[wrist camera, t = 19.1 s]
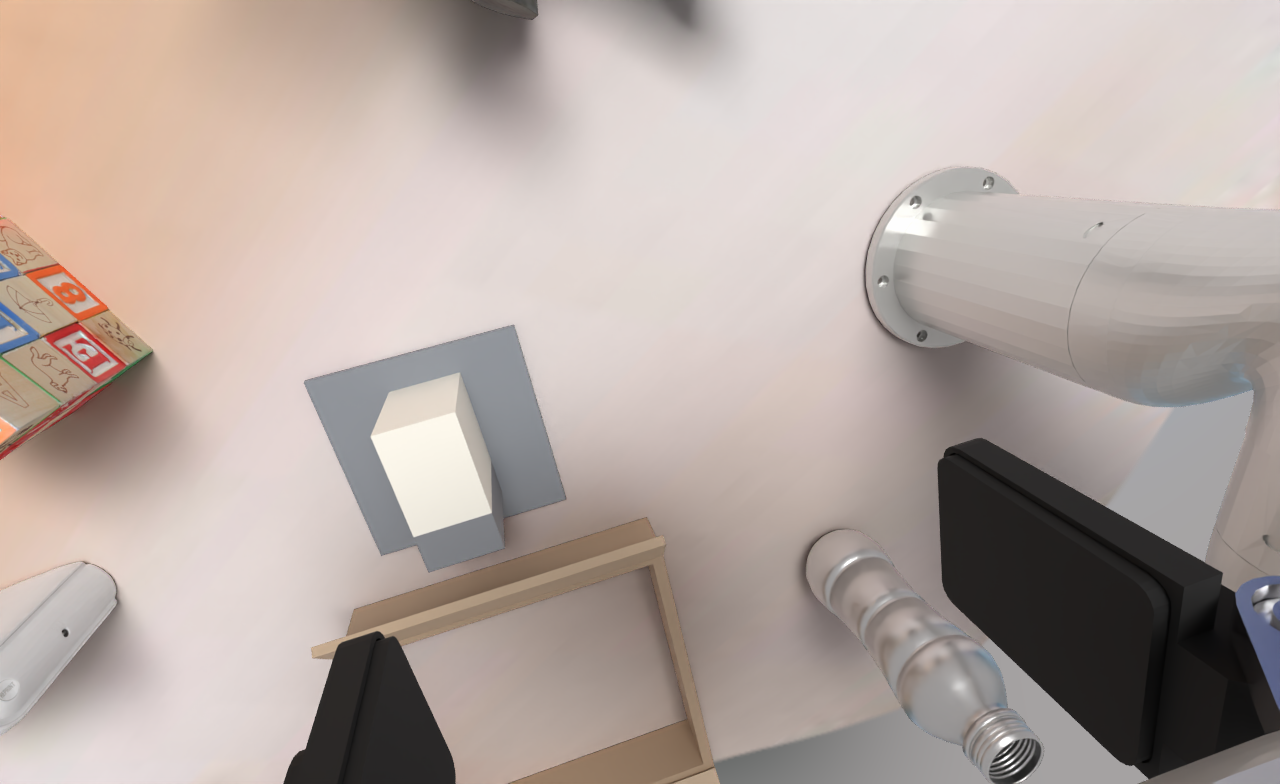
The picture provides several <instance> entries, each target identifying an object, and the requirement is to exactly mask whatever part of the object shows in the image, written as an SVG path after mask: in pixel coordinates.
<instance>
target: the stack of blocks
mask: <svg viewBox="0 0 1280 784" xmlns="http://www.w3.org/2000/svg"><path fill="white" fill-rule="evenodd" d="M152 351H153V350H152V348H151V347H149V346H148V345H147V344H146V343H145V342H144V341H143V340H142V339H141V338H139V337H138V336H137V335H136V334H135V333H134V332H133V331H132V330H130V329H129V328H128V327H127V326H126V325H125V324H124V323H123V322H122V321H121V320H119V319H118V318H117V317H116V316H115V315H114V314H113V313H112V312H111V311H109V309H108V307H107V306H106V305H105V304H104V303H103V302H101V301H100V300H99V299H98V298H97V297H96V296H95V295H94V294H93V293H91V292H90V291H89V290H88V289H87V288H86V287H85V286H84V285H82V284H81V283H80V282H79V281H78V280H77V279H76V278H75V277H73V276H72V275H71V274H70V273H69V272H68V271H67V270H66V269H65V268H64V267H62V266H61V265H59V264H58V263H57V261H56V260H55V259H53V258H52V257H51V256H50V255H49V254H48V253H47V252H46V251H45V250H44V249H43V248H42V247H40V246H39V245H38V244H37V243H36V242H35V241H34V240H32V239H31V238H30V237H29V236H28V235H27V234H26V233H25V232H23V231H22V230H21V229H20V228H19V227H18V226H17V225H16V224H15V223H13V222H12V221H11V220H9V219H8V218H5V217H3V216H2V215H0V460H1V459H3V458H4V457H5V456H7V455H8V454H9V453H10V452H12V451H13V450H15V449H16V448H18V447H19V446H21V445H23V444H24V443H26V442H27V441H29V440H30V439H32V438H33V437H35V436H36V435H38V434H39V433H41V432H42V431H44V430H46V429H48V428H49V427H51V426H53V425H54V424H56V423H57V422H59V421H60V420H62V419H63V418H65V417H67V416H68V415H70V414H71V413H73V412H74V411H75V410H77V409H78V408H79V407H81V406H82V405H83V404H85V403H86V402H87V401H89V400H90V399H91V398H93V397H94V396H95V395H97V394H98V393H99V392H100V391H102V390H103V389H104V388H106V387H107V386H108V385H110V384H111V383H112V381H113V380H115V379H116V378H117V377H119V376H120V375H121V374H123V373H124V372H125V371H127V370H128V369H130V368H131V367H132V366H134V365H135V364H136V363H138V362H139V361H140V360H142V359H143V358H144V357H145V356H147V355H148V354H150V353H151V352H152Z"/></svg>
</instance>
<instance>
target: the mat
mask: <svg viewBox="0 0 1280 784" xmlns="http://www.w3.org/2000/svg"><path fill="white" fill-rule="evenodd" d="M459 372H460V373H461V376H462V379H463V382H464V385H465V388H466V390H467V393H468V396H469V399H470V402H471V405H472V408H473V410H474V413H475V416H476V419H477V422H478V425H479V427H480V430H481V433H482V436H483V439H484V442H485V444H486V447H487V450H488V453H489V456H490V459H491V462H492V464H493V467H494V470H495V473H496V476H497V479H498V481H499V484H500V487H501V490H502V499H503V518H506V517H510V516H513V515H516V514H519V513H523V512H526V511H529V510H532V509H536V508H539V507H542V506H546V505H549V504H552V503H555V502H559V501H562V500H565V499H566V497H565V493H564V490H563V487H562V483H561V480H560V477H559V473H558V470H557V467H556V463H555V460H554V457H553V453H552V450H551V447H550V444H549V440H548V437H547V434H546V430H545V427H544V424H543V420H542V417H541V414H540V410H539V407H538V404H537V400H536V397H535V394H534V390H533V387H532V384H531V380H530V377H529V374H528V370H527V367H526V364H525V361H524V357H523V354H522V351H521V347H520V344H519V341H518V337H517V334H516V331H515V327H514V325H511V326H507V327H503V328H499V329H496V330H492V331H488V332H484V333H481V334H477V335H473V336H469V337H466V338H462V339H458V340H454V341H451V342H447V343H443V344H439V345H436V346H432V347H428V348H425V349H421V350H417V351H413V352H410V353H406V354H402V355H398V356H395V357H391V358H387V359H383V360H380V361H376V362H372V363H368V364H365V365H361V366H357V367H353V368H350V369H346V370H342V371H338V372H335V373H331V374H327V375H323V376H320V377H316V378H312V379H308V380H305V381H304V384H305V387H306V389H307V391H308V393H309V395H310V398H311V400H312V402H313V404H314V407H315V409H316V411H317V413H318V416H319V418H320V420H321V422H322V424H323V427H324V429H325V431H326V433H327V436H328V438H329V440H330V442H331V445H332V447H333V449H334V451H335V453H336V456H337V458H338V460H339V462H340V465H341V467H342V469H343V471H344V474H345V476H346V478H347V480H348V482H349V485H350V487H351V489H352V491H353V494H354V496H355V498H356V500H357V503H358V505H359V507H360V509H361V511H362V514H363V516H364V518H365V520H366V523H367V525H368V527H369V529H370V532H371V534H372V536H373V538H374V540H375V543H376V545H377V547H378V549H379V552H380V554H381V556H382V555H385V554H389V553H392V552H395V551H399V550H402V549H405V548H408V547H412V546H415V545H417V544H416V542H415V539H414V537H413V535H412V532H411V530H410V528H409V525H408V523H407V521H406V518H405V516H404V514H403V511H402V509H401V507H400V504H399V502H398V500H397V497H396V495H395V493H394V490H393V488H392V486H391V483H390V481H389V479H388V476H387V474H386V472H385V469H384V467H383V465H382V462H381V460H380V458H379V455H378V453H377V451H376V448H375V446H374V444H373V441H372V439H371V437H370V436H371V434H372V432H373V429H374V427H375V424H376V422H377V420H378V417H379V415H380V413H381V410H382V408H383V405H384V403H385V401H386V398H387V396H388V393H389V392H391V391H395V390H398V389H402V388H406V387H409V386H413V385H416V384H420V383H423V382H427V381H431V380H434V379H438V378H441V377H445V376H448V375H452V374H456V373H459Z"/></svg>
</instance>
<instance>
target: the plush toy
mask: <svg viewBox="0 0 1280 784" xmlns="http://www.w3.org/2000/svg"><path fill="white" fill-rule="evenodd" d="M471 1H473V2H475V3H477V4H479V5H481V6H483V7H485V8H488V9H491V10H493V11H496V12H499V13H502V14H506V15H510V16H515V17H520V18H525V19H530V20H533V19H534V18H535V17H536V16H538V8H537V0H471Z"/></svg>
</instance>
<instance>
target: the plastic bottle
mask: <svg viewBox="0 0 1280 784" xmlns="http://www.w3.org/2000/svg"><path fill="white" fill-rule="evenodd" d="M806 577H807V580H808V583H809V585H810V587H811V589H812V591H813V593H814V595H815V597H816V598H817V599H818V600H819V601H820V602H821V603H822V604H823V605H824V606H825V607H826V608H827V609H828V610H829V611H830V612H831V613H833V614H834V615H835V616H837V617H838V618H839V619H840V620H841V621H842V622H843V623H844V624H845V625H846V626H847V627H848V628H849V629H850V630H851V631H852V632H853V633H854V634H855V636H856V637H857V638H858V639H859V640H860V641H861V642H862V644H863V645H864V647H865V648H866V650H867V651H868V652H869V654H870V655H871V657H872V658H873V660H874V661H875V663H876V664H877V665H878V667H879V668H880V670H881V671H882V673H883V675H884V676H885V678H886V680H887V682H888V684H889V685H890V687H891V689H892V691H893V692H894V694H895V696H896V698H897V699H898V701H899V703H900V705H901V707H902V708H903V710H904V711H905V713H906V714H907V716H908V717H909V719H910V720H911V721H912V722H913V723H914V724H915V725H917V726H918V727H919V728H921V729H922V730H923V731H925V732H926V733H928V734H930V735H932V736H934V737H936V738H939V739H942V740H944V741H946V742H950V743H953V744H957V745H960V746H962V748H963V752H964V754H965V756H966V757H967V758H968V760H969V761H970V762H971V763H972V764H973V765H975V766H976V767H977V768H978V769H979V770H980V772H981V773H982V774H983V776H984V777H985V778H986V779H987V780H988V781H989V782H990V783H991V784H1019V783H1021V782H1023V781H1024V780H1026V779H1027V778H1028V777H1029V776H1031V775H1032V774H1033V773H1034V772H1035V771H1036V769H1037V768H1038V766H1039V765H1040V763H1041V761H1042V758H1043V756H1044V746H1043V744H1042V742H1041V741H1040V739H1039V738H1038V737H1037V736H1036V735H1035V734H1034V733H1033V732H1032V731H1031V730H1030V728H1028V726H1027V725H1026V723H1025V721H1024V720H1023V718H1022V717H1021V716H1020V715H1019V714H1018V713H1017V712H1016V711H1014V710H1013V709H1009V708H1008V704H1007V696H1006V690H1005V686H1004V681H1003V677H1002V674H1001V671H1000V669H999V667H998V666H997V664H996V662H995V660H994V659H993V657H992V656H991V654H990V653H989V652H988V651H987V650H986V649H984V647H982V646H981V645H980V644H979V643H978V642H976V641H975V640H973V639H972V638H971V637H970V636H968V635H967V634H965V633H964V632H963V631H961V630H960V629H959V628H957V627H956V626H955V625H953V624H952V623H950V622H949V621H948V620H946V619H945V618H944V617H942V616H941V615H940V614H939V613H938V612H937V611H936V610H935V609H933V608H932V607H931V606H930V605H929V604H928V603H926V602H925V601H924V600H923V599H922V598H921V597H920V596H919V595H918V594H917V593H916V592H915V591H914V590H913V589H912V588H911V587H910V585H909V584H908V583H907V582H906V581H905V579H904V578H903V577H902V576H901V575H900V573H899V572H898V571H897V570H896V569H895V567H894V565H893V563H892V561H891V560H890V558H889V557H888V555H887V554H886V553H885V551H884V550H883V549H882V547H881V546H880V545H879V544H878V543H877V542H876V541H874V540H873V539H871V538H870V537H868V536H867V535H865V534H863V533H862V532H859V531H857V530H851V529H846V530H836V531H832V532H830V533H828V534H826V535H824V536H823V537H821V538H820V539H819V540H818V541H817V542H816V543H815V544H814V546H813V547H812V549H811V550H810V552H809V555H808V558H807V565H806Z"/></svg>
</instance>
